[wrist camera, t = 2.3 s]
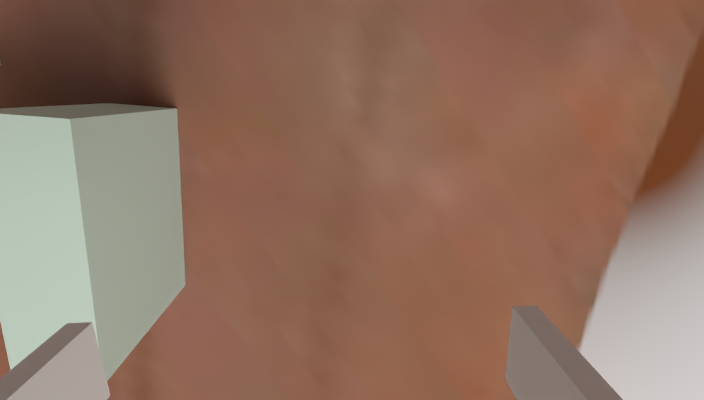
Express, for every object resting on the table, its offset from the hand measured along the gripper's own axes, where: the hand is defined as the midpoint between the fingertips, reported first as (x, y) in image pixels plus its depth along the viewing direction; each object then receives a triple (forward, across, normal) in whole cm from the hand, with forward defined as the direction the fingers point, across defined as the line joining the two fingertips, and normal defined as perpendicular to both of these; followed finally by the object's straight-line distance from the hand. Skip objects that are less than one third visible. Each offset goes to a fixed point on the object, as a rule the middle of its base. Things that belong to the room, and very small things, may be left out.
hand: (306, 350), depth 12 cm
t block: (+25, -23, -1) cm, 34 cm away
